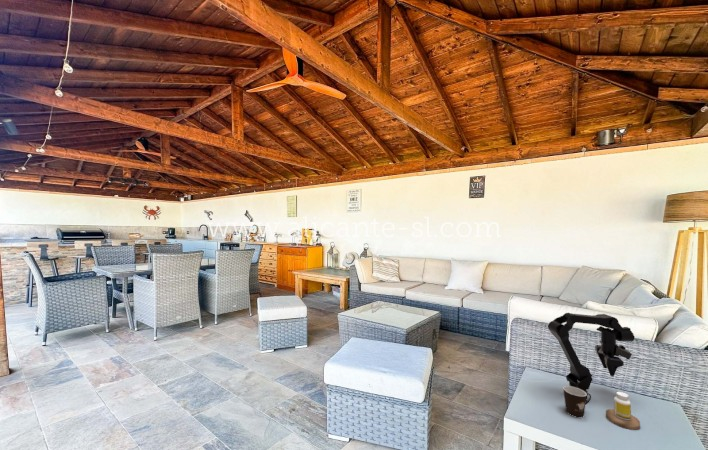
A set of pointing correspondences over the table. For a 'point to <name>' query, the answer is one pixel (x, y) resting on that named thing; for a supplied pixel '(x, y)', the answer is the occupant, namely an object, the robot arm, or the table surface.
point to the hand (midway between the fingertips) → (608, 372)
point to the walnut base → (623, 421)
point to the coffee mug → (575, 400)
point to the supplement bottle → (622, 406)
